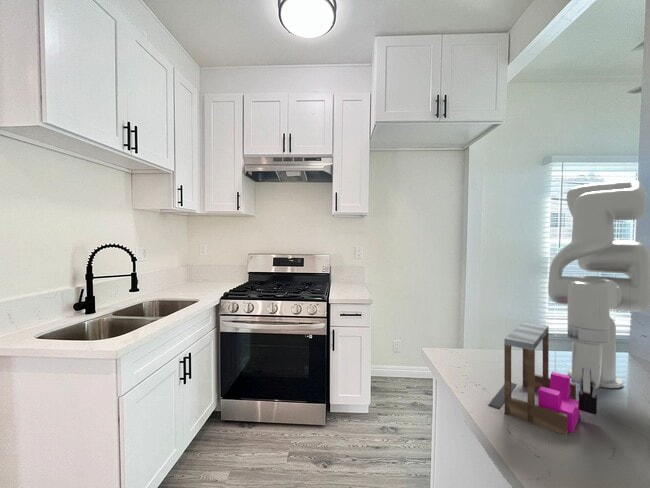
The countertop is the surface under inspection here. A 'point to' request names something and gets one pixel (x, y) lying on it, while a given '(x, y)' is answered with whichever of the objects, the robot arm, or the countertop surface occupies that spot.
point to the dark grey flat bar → (500, 397)
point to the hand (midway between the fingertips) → (587, 411)
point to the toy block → (560, 399)
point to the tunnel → (532, 378)
